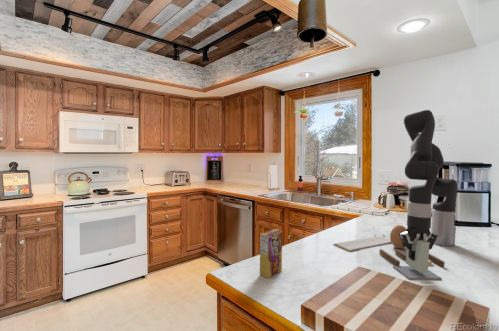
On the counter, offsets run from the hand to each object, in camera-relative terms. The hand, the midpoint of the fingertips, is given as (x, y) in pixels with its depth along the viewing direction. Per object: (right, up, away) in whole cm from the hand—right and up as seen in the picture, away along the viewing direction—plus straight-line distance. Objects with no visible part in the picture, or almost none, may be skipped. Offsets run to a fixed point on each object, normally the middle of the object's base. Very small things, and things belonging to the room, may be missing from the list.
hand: (416, 259), depth 99 cm
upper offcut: (+9, -5, +12) cm, 16 cm away
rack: (+5, -5, +12) cm, 14 cm away
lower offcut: (+9, -6, +12) cm, 16 cm away
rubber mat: (0, -5, 0) cm, 5 cm away
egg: (+9, -5, +27) cm, 29 cm away
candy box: (-55, -5, -2) cm, 55 cm away
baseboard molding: (-6, -5, +34) cm, 35 cm away
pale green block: (0, -3, 0) cm, 3 cm away
